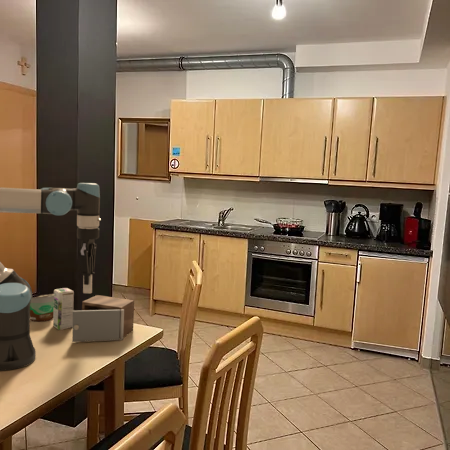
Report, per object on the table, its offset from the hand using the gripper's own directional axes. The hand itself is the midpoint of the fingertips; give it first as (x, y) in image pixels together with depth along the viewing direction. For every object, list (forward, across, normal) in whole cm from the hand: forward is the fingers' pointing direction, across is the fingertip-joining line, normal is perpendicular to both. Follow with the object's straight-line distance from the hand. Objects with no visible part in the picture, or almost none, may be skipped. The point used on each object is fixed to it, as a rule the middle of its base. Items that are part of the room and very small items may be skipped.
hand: (87, 292), depth 161 cm
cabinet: (+17, +8, -5) cm, 19 cm away
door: (+17, -3, -5) cm, 18 cm away
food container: (+17, +16, +22) cm, 33 cm away
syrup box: (+17, +10, +12) cm, 23 cm away
